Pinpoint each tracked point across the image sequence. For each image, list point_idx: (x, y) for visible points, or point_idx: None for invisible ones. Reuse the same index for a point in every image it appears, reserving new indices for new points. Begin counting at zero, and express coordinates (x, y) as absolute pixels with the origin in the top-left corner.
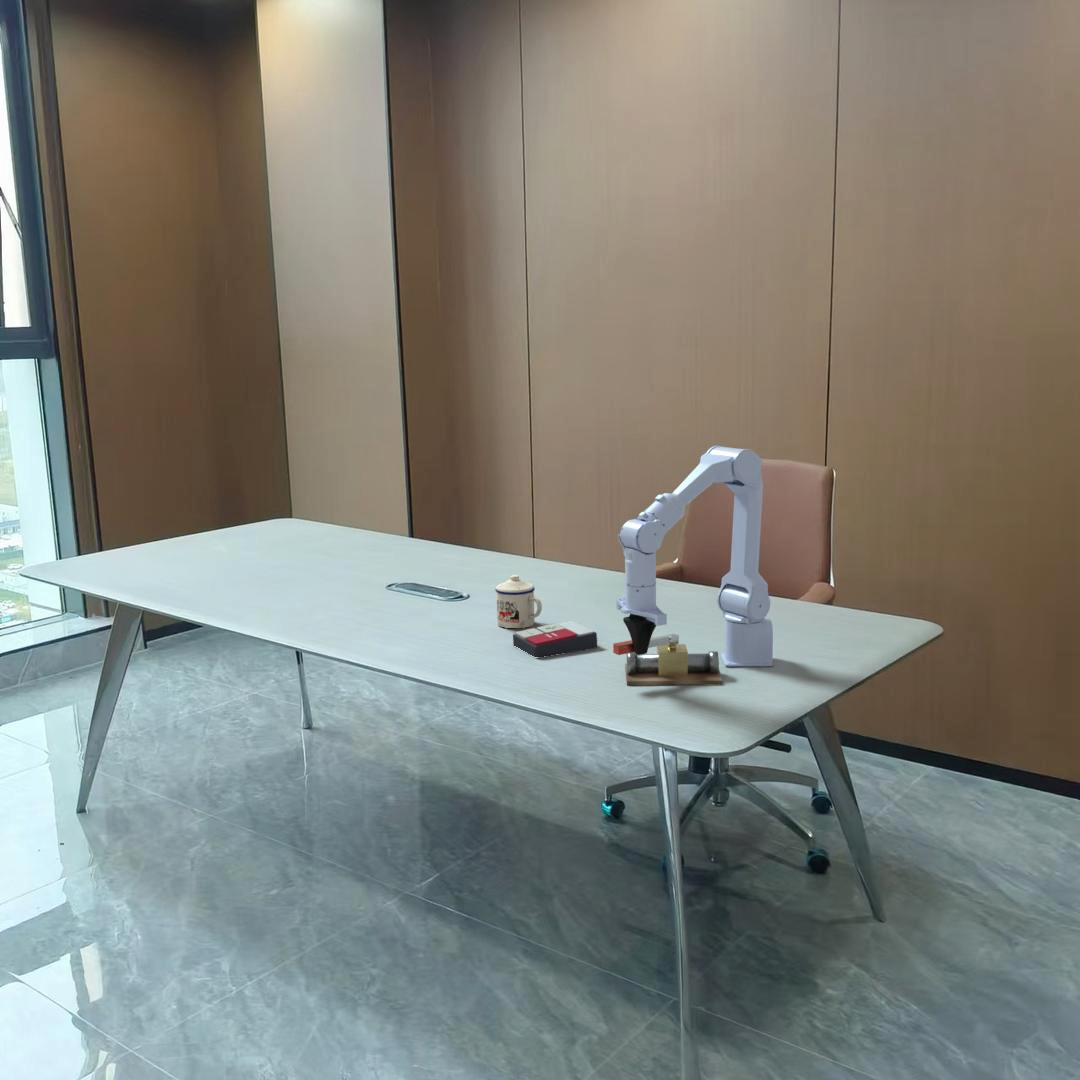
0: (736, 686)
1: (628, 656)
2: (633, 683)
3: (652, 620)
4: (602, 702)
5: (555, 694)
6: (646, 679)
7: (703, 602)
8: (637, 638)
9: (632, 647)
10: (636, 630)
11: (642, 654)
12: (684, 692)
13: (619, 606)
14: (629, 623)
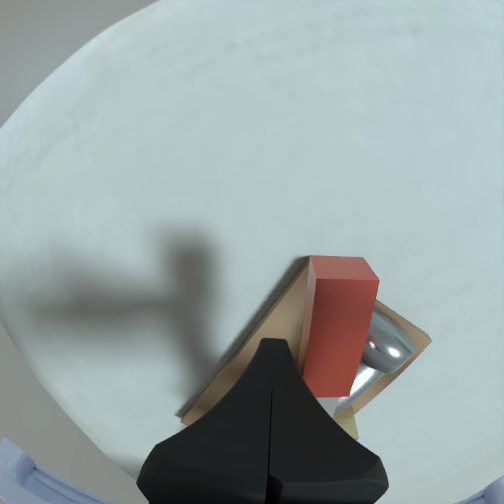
0: (163, 421)
1: (380, 339)
2: (296, 274)
3: (76, 495)
4: (209, 93)
5: (360, 21)
6: (286, 319)
7: (469, 487)
8: (229, 392)
9: (302, 352)
10: (190, 426)
11: (360, 383)
12: (168, 341)
13: (499, 498)
14: (263, 464)
